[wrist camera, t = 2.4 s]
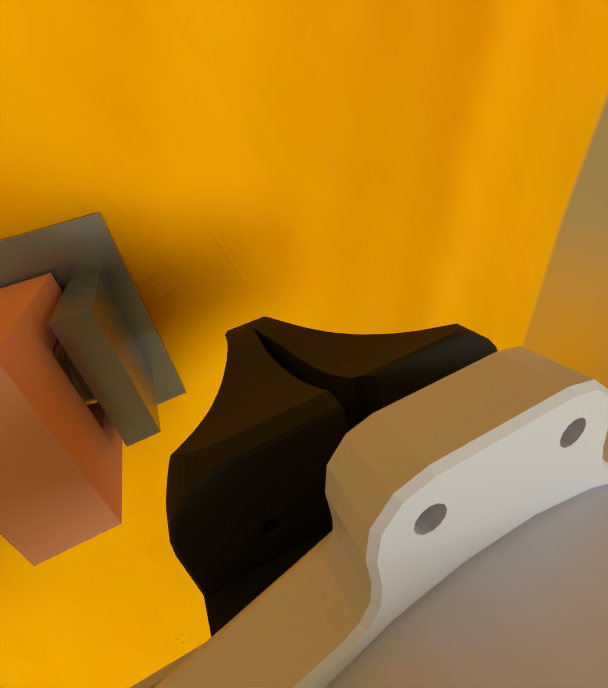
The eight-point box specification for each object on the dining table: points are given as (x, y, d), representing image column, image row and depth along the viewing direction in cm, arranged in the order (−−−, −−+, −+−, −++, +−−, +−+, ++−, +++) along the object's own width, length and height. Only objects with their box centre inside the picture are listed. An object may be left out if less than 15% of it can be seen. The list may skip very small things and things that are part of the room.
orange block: (122, 393, 17) (121, 523, 11) (68, 415, 17) (34, 566, 10) (50, 272, 14) (-8, 355, 8) (-19, 294, 14) (-140, 402, 7)
